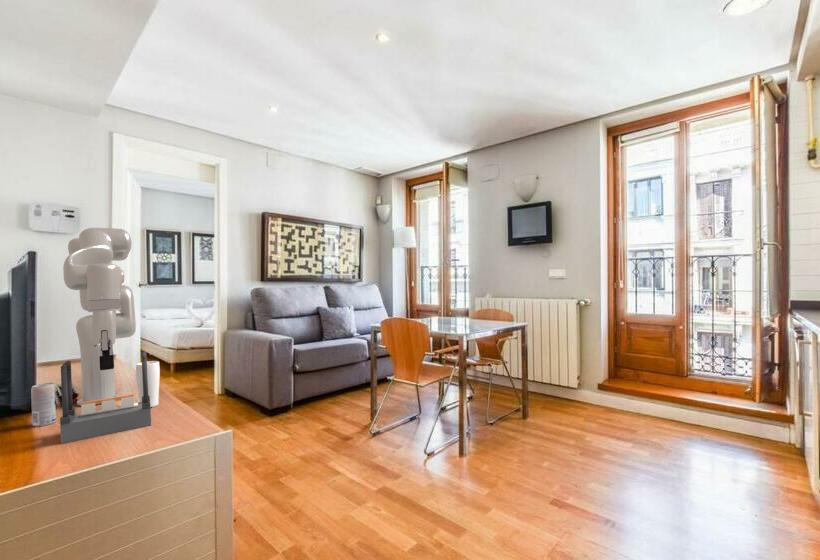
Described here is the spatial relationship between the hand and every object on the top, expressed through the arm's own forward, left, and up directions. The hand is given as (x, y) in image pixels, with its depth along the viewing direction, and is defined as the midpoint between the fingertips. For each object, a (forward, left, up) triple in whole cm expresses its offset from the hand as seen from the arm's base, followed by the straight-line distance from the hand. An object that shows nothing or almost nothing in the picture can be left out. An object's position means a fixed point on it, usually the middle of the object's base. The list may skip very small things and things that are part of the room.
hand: (107, 369), depth 114 cm
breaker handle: (0, 0, -12) cm, 12 cm away
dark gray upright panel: (0, -9, -12) cm, 15 cm away
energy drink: (-20, -17, -18) cm, 32 cm away
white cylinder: (-18, +10, -18) cm, 27 cm away
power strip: (0, 0, -18) cm, 18 cm away
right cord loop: (0, +9, -12) cm, 15 cm away
